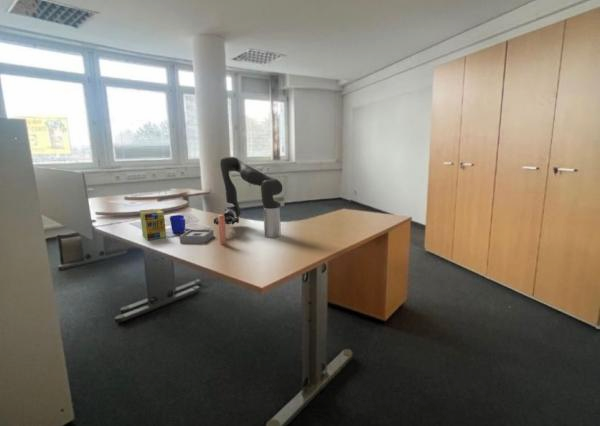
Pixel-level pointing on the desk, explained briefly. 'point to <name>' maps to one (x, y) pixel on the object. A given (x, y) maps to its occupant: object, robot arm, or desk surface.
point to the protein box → (153, 224)
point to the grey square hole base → (196, 236)
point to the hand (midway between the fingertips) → (224, 222)
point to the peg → (222, 229)
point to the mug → (177, 223)
